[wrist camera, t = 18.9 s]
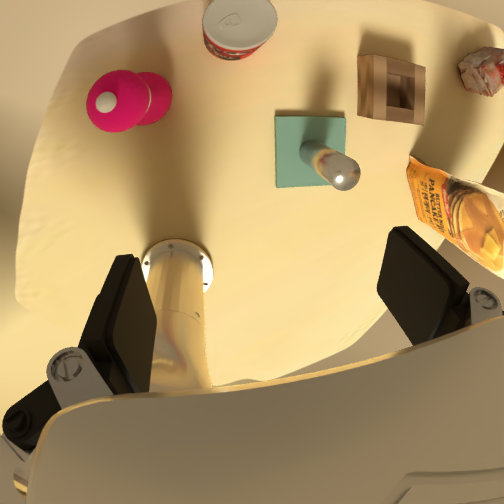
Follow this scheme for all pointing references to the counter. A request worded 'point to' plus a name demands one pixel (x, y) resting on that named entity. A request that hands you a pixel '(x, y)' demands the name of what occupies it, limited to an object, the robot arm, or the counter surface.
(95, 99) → the pepper mill
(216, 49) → the canned food
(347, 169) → the steel pin
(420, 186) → the pancake mix bag
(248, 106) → the counter surface
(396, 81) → the socket block
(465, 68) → the food item
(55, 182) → the counter surface
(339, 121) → the mat
